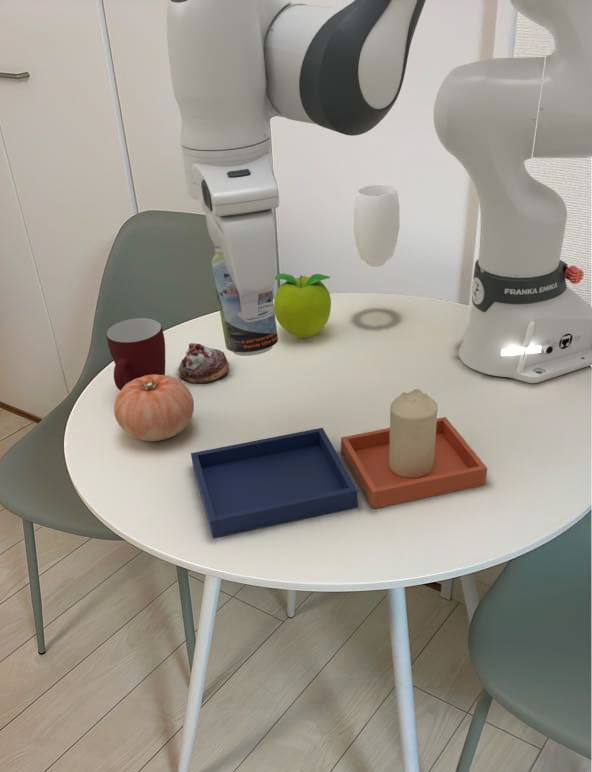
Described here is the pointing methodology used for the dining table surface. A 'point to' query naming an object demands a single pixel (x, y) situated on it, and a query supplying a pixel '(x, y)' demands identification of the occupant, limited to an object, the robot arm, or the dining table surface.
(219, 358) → the pastry
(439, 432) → the terracotta tray
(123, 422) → the orange pumpkin
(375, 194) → the cup
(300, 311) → the fruit
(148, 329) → the mug
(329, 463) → the navy tray
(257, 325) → the beverage can
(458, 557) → the dining table surface
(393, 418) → the candle
